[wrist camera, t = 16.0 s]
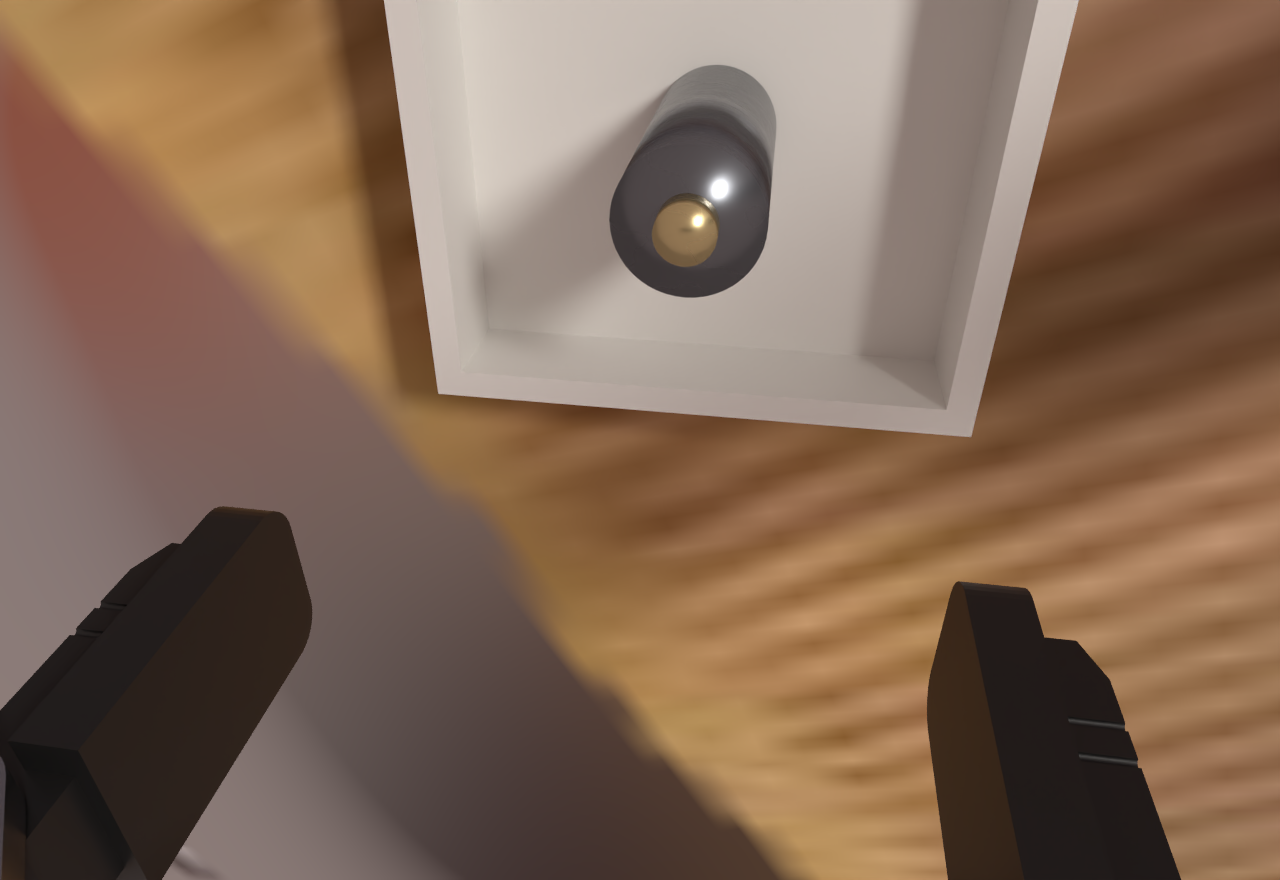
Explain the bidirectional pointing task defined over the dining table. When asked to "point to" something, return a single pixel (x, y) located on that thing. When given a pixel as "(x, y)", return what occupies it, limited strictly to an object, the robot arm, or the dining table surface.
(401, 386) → the dining table surface
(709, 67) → the cell
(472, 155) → the white square tray
